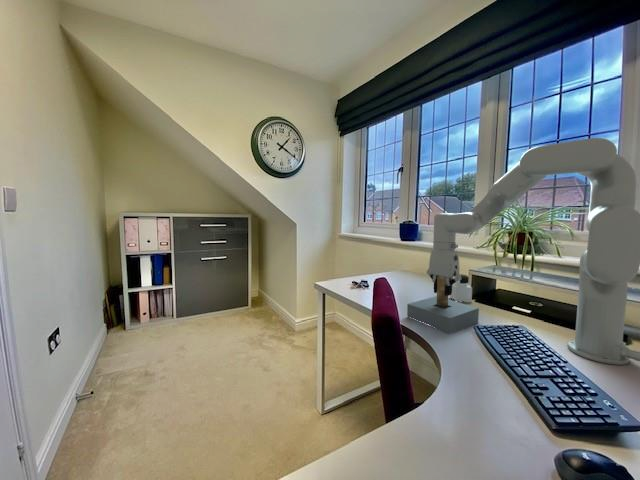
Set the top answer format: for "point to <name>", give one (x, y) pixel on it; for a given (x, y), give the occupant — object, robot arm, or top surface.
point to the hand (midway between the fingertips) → (442, 293)
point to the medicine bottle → (462, 290)
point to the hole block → (443, 314)
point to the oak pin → (441, 291)
